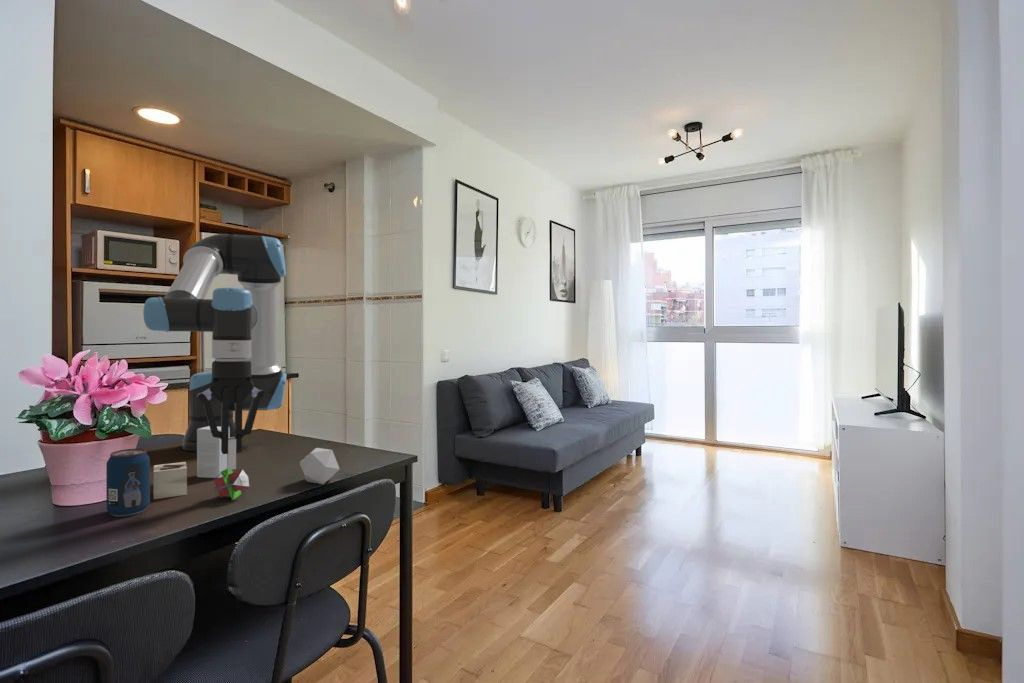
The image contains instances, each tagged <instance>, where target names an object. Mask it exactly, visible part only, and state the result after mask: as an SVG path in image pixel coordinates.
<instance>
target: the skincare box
mask: <svg viewBox="0 0 1024 683" xmlns="http://www.w3.org/2000/svg"><path fill="white" fill-rule="evenodd" d="M217 429H218V431H221V427H217ZM229 437H230V427H229ZM225 469H227V454H223V453H222V451H221V439H220V438H215V437H213V436H212V433H211V430H210V426H207V427H203V428H199V429H197V451H196V477H197V478H205V479H206V478H207V479H215V478H216V479H217V478H220V477H223V476H222V473H221V474H219V473H220V472H222V471H224V470H225ZM219 475H220V477H219Z"/></svg>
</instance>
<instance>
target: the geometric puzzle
mask: <svg viewBox="0 0 1024 683" xmlns="http://www.w3.org/2000/svg"><path fill="white" fill-rule="evenodd" d="M221 473H222V476H223V477H220V475H219V477H220V478H213V483H214V486H215V488H216V490H214V493H216V494H217V495H219V497H220V498H224V499H227V500H230V501H234V500H236V499H237V498H238V497H240V496H241V495H243V493H244V492H246V489H248V488H250V487H251V486H250V480H249V474H247V473H246V472H245V470H243V468H242V469H241V468H239V469H238V470H235V469H232V470H228V468H227V469H225V470H224V471H222V472H220V473H219V474H221ZM241 490H242V491H241ZM228 496H229V497H230V498H231V499H230V498H229V497H228Z"/></svg>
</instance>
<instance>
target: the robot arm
mask: <svg viewBox="0 0 1024 683" xmlns="http://www.w3.org/2000/svg"><path fill="white" fill-rule="evenodd" d="M183 255H184V256H183V258H182V259H183V260H182V261H183V264H182V267H181V268H180V271H178V274H177V276H176V277H175V279H174V281H173V282H172V284H171V286H170V287H169V289H168V290H167V292H166V294H165V295H164V296H163V297H162V296H158V297H149V298H147V299H146V300H145V303H144V304H143V312H142V313H143V321H144V324H145V327H146V328H147V329H148V330H149V331H156V332H157V331H158V332H166V333H169V332H199V333H200V332H202V333H203V332H204V333H208V332H209V333H210V332H211V333H212V336H211V337H212V338H211V357H212V359H214V360H213V361H212V362H211V370H209V371H203V372H198V373H194V374H193V375H191V377H190V378H189V389H188V391H189V423H188V426H187V428H186V431H185V435H183V440H182V450H184V451H187V452H197V429H199V428H203V427H207V426H210V430H211V433H212V436H213V437H215V438H220V439H221V451H222V453H223V454H227V468H228V470H237V453H241V452H242V450H243V445H242V444H243V440H242V439H243V437H245V436H247V435H251V434H252V430H253V427H254V424H255V423H254V422H255V419H256V417H257V416H256V415H257V412H258V411H271V410H272V411H273V410H278V409H280V408H282V406H283V402H284V397H285V392H286V384H287V373H286V372H283V370H282V366H281V365H280V364H279V363H278V362H277V323H276V322H277V314H276V312H277V311H276V310H277V309H276V308H277V307H276V305H277V304H276V288H277V287H278V286H279V285H280V284H281V283H282V280H281V279H282V278H284V277H285V278H286V276H287V270H286V260H285V253H284V249H283V245H282V242H281V240H279V239H278V238H276V237H271V236H265V235H248V234H247V235H246V234H233V233H232V234H231V233H217V234H214V235H213V234H212V235H209V236H207V237H205V238H201V239H200V240H198V241H196V242H195V243H193V244H192V245H190V246H189V248H188V249H187V250H186V252H185V253H184V254H183ZM219 275H237V282H238V283H239V284H240V285H242V286H243V288H236V287H235V288H232V287H218V288H215V289H214V290H212V298H209V299H208V298H206V296H207V294H208V292H209V290H210V287H211V286H212V283H213V281H214V279H215V278H217V277H218V276H219ZM246 411H248V413H247V416H246V420H245V424H244V428H243V412H246ZM217 427H221V431H218V429H217ZM229 427H230V437H229Z"/></svg>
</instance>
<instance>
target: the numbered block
mask: <svg viewBox="0 0 1024 683" xmlns="http://www.w3.org/2000/svg"><path fill="white" fill-rule="evenodd" d="M187 480H188V468H187V462H186V461H181V462H173V463H163V464H155V465H153V500H160V499H165V498H172V497H173V498H174V497H179V496H180V497H181V496H186V495H188V481H187Z"/></svg>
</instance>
